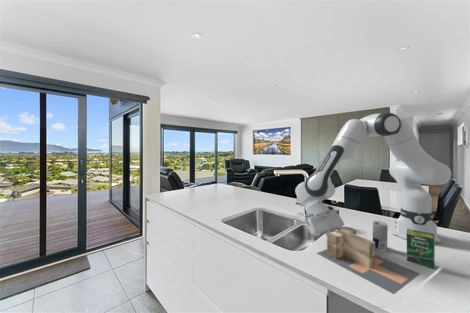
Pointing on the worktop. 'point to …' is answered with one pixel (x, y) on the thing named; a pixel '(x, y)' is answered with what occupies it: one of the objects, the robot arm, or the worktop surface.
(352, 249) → the t block
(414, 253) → the coffee box
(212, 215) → the worktop surface
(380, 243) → the energy drink
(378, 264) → the mat
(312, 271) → the worktop surface
